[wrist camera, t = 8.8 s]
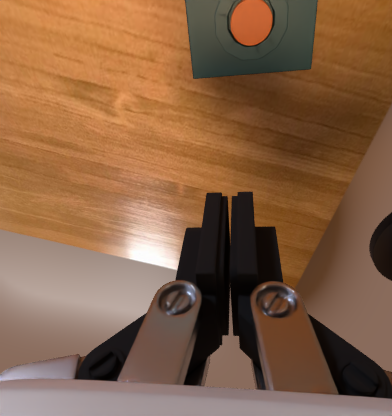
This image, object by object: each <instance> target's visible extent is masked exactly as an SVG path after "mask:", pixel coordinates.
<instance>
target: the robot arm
mask: <svg viewBox="0 0 392 416" xmlns="http://www.w3.org/2000/svg"><path fill="white" fill-rule="evenodd" d="M230 288H231V304H232V320H233V335H234V336H239V342H240V349H241V350H242V351H243V352H244V353H245V354H246V355H247V356H248V357H249V358H250V359H251V366H252V370H253V376H254V381H255V387H256V390H254V389H238V388H221V387H205V386H204V385H205V381H206V377H207V372H208V368H209V364H210V355H211V354H212V353H213V352H215V351H216V350H217V349H218V348H219V347H220V345H222V335H228V333H229V298H230ZM0 416H392V372H389V371H386V370H383V369H382V368H381V367H380V366H379V365H377V364H376V363H375V362H374V361H373V360H371V359H370V358H368V357H367V356H366V355H364V354H363V353H362V352H360V351H359V350H358V349H356V348H355V347H353V346H352V345H351V344H349V343H348V342H346V341H345V340H344V339H342V338H341V337H339V336H338V335H337V334H335V333H334V332H333V331H331V330H330V329H328V328H327V327H326V326H324V325H323V324H322V323H320V322H319V321H317V320H316V319H314V318H313V317H312V316H310V315H309V314H308V313H307V310H306V308H305V305H304V303H303V300H302V298H301V296H300V294H299V293H298V291H296V290H295V289H294V288H293V287H292V286H290V285H288V284H286V283H283V278H282V271H281V264H280V257H279V250H278V243H277V236H276V229H275V227H255V223H254V207H253V192H238V196H232V210H231V243H230V232H229V214H228V198H227V196H222V193H207V195H206V201H205V208H204V215H203V222H202V228H187V229H186V231H185V236H184V241H183V246H182V251H181V256H180V260H179V265H178V270H177V275H176V280H175V281H172V282H169V283H167V284H165V285H163V286H162V287H161V288H160V289H159V290H158V291H157V293H156V294H155V296H154V298H153V300H152V303H151V305H150V307H149V309H148V312H147V313H146V314H144V315H143V316H141V317H140V318H138V319H137V320H136V321H134V322H133V323H131V324H130V325H128V326H127V327H125V328H124V329H122V330H121V331H120V332H118V333H117V334H115V335H114V336H112V337H111V338H110V339H108V340H107V341H105V342H104V343H102V344H101V345H99V346H98V347H96V348H95V349H94V350H92V351H91V352H90V353H89V354H88V355H87V356H84V357H80V355H79V354H76V355H70V356H65V357H60V358H54V359H49V360H43V361H38V362H33V363H27V364H22V365H17V366H14V367H11V368H9V369H8V370H6V371H4V372H3V373H2V374H0Z"/></svg>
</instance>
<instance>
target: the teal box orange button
mask: <svg viewBox="0 0 392 416" xmlns="http://www.w3.org/2000/svg"><path fill="white" fill-rule="evenodd" d="M240 1H242V0H185V4H186V13H187V23H188V32H189V42H190V51H191V61H192V70H193V78H194V79H198V78H210V77H222V76H235V75H247V74H259V73H271V72H283V71H296V70H308V69H311V64H312V54H313V43H314V33H315V22H316V12H317V2H318V0H263V1H264V2H265V3H266V4H267V5H268V6H269V8H270V10H271V13H272V18H273V22H272V27H271V30H270V33H269V34H268V36H267V37H266V38H265V39H264V40H263V41H262V42H261V43H259V44H257V45H253V46H246V45H243V44H241V43H239V42H238V41H237V40H236V39H235V38H234V36H233V34H232V31H231V16H232V13H233V10H234V8H235V7H236V6H237V4H238V3H239V2H240Z"/></svg>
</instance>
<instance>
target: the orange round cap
mask: <svg viewBox="0 0 392 416" xmlns="http://www.w3.org/2000/svg"><path fill="white" fill-rule="evenodd" d="M272 22H273V18H272V13H271V10H270V8H269V6H268V5H267V4H266V3H265V2H264V1H263V0H242V1H240V2H239V3H238V4H237V6H236V7H235V8H234V10H233V13H232V16H231V31H232V34H233V36H234V38H235V39H236V40H237V41H238V42H239V43H241V44H243V45H246V46H253V45H257V44H259V43H261V42H262V41H263V40H264V39H265V38H266V37H267V36H268V34H269V33H270V30H271V27H272Z"/></svg>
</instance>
